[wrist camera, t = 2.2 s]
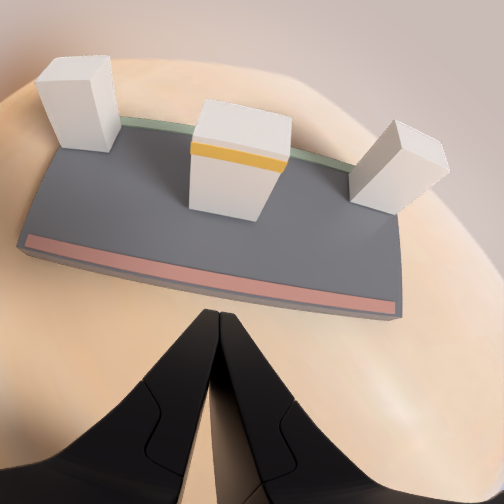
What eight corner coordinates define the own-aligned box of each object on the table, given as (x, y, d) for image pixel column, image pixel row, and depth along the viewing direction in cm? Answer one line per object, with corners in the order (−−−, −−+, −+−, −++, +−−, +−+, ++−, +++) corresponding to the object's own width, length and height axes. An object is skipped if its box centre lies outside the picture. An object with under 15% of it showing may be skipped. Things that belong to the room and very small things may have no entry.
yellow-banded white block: (256, 222, 22) (290, 157, 14) (188, 209, 21) (191, 135, 14) (261, 187, 23) (292, 117, 16) (197, 174, 22) (205, 97, 15)
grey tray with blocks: (388, 320, 24) (475, 295, 15) (27, 254, 19) (-41, 197, 10) (382, 188, 29) (440, 132, 20) (83, 126, 24) (60, 47, 15)
